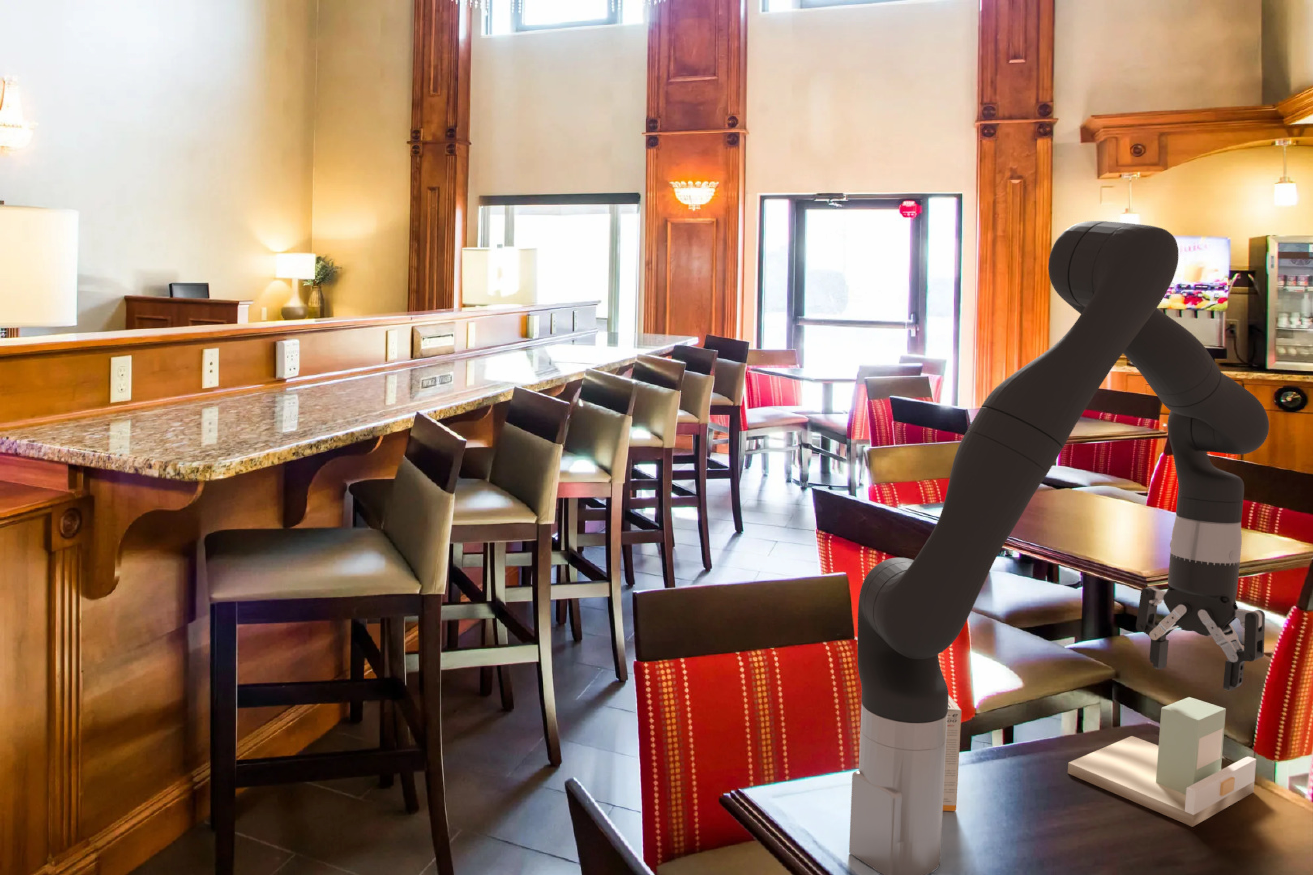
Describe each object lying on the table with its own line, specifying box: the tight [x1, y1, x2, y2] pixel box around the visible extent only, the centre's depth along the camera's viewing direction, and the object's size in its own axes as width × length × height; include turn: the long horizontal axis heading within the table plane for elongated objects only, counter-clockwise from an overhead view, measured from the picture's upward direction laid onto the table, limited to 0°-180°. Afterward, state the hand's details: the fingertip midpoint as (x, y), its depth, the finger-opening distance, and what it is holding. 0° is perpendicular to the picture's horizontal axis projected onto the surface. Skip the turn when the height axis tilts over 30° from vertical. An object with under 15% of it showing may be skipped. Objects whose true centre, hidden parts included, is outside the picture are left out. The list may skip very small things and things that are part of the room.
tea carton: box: [1156, 696, 1227, 795], centre depth 114 cm, size 5×7×10 cm, turn 123°
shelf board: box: [1067, 735, 1257, 828], centre depth 117 cm, size 16×16×4 cm
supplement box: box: [943, 693, 962, 812], centre depth 113 cm, size 8×5×13 cm, turn 179°
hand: (1193, 677), depth 114 cm, fingers open, 8 cm apart
